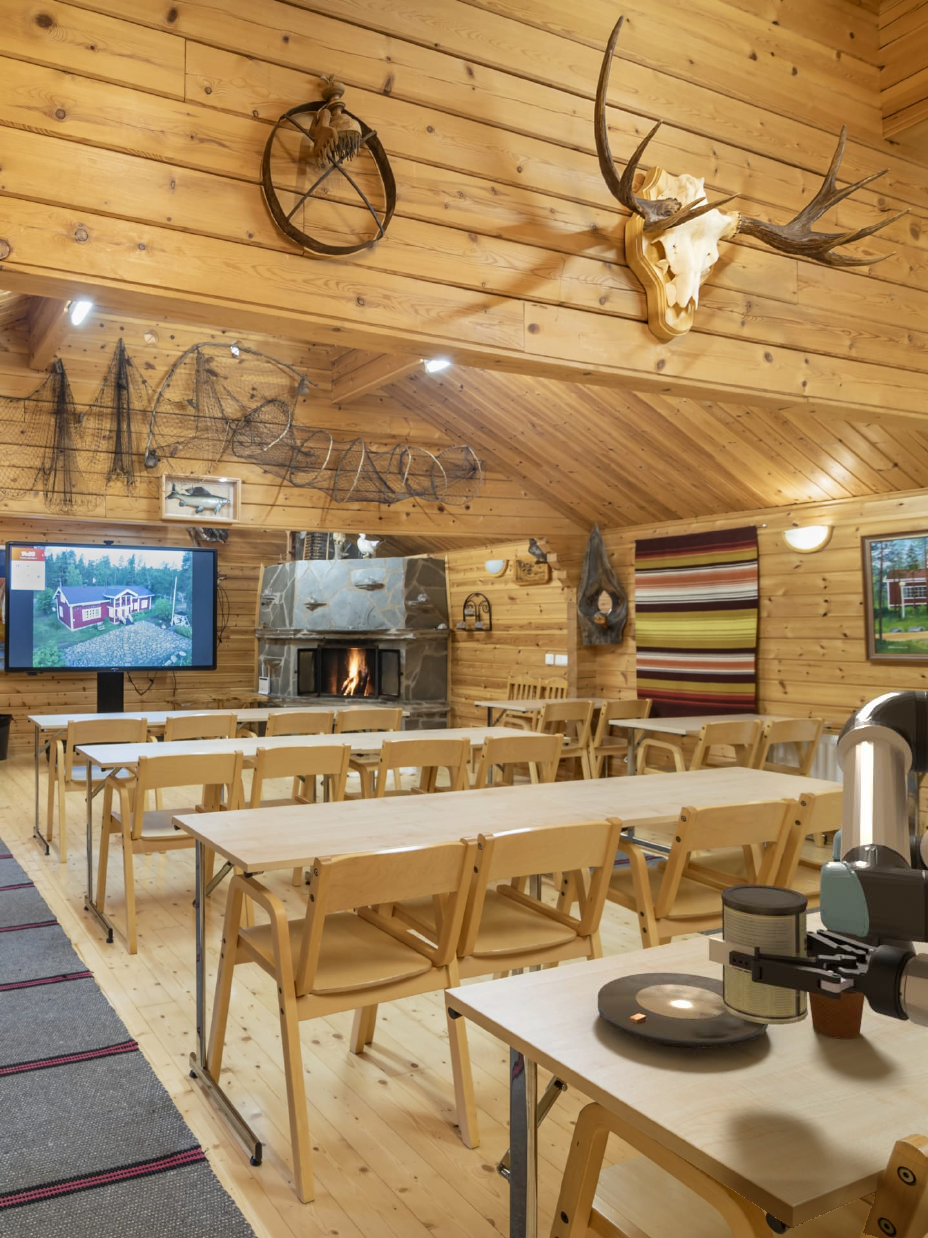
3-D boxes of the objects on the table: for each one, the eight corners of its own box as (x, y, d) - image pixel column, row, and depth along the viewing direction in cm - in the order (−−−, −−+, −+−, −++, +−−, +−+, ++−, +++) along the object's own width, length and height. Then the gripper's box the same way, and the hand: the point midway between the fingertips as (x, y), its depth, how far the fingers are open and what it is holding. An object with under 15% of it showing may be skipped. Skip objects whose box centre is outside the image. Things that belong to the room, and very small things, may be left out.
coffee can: (711, 993, 122) (711, 884, 122) (789, 993, 122) (789, 884, 122) (735, 1026, 112) (735, 906, 112) (821, 1025, 112) (821, 906, 112)
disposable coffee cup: (879, 1047, 129) (879, 958, 129) (806, 1040, 131) (806, 953, 131) (864, 1020, 138) (864, 937, 139) (796, 1014, 140) (796, 933, 140)
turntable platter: (660, 971, 153) (660, 958, 153) (799, 1014, 135) (799, 999, 135) (563, 1009, 136) (564, 995, 136) (708, 1064, 119) (708, 1047, 119)
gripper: (869, 1051, 96) (683, 991, 112) (951, 995, 112) (777, 949, 128) (869, 977, 96) (683, 928, 112) (950, 931, 112) (777, 894, 128)
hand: (733, 939), depth 120 cm, fingers closed on coffee can, 10 cm apart
